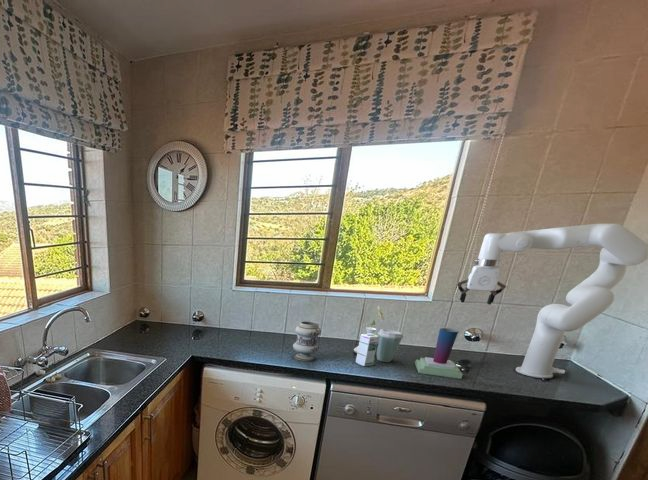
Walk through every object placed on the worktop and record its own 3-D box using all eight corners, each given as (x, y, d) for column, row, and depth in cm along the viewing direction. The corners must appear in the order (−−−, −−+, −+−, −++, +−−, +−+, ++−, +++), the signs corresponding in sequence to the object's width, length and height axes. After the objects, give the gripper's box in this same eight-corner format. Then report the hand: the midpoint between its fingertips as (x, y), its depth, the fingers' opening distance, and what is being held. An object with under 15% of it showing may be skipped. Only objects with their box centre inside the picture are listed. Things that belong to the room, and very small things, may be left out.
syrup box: (364, 366, 189) (370, 336, 184) (354, 362, 195) (360, 333, 189) (374, 365, 191) (380, 336, 185) (364, 361, 196) (370, 332, 191)
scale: (454, 368, 187) (457, 361, 186) (461, 378, 175) (463, 371, 174) (414, 363, 194) (416, 356, 192) (418, 372, 182) (420, 365, 181)
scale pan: (449, 363, 186) (450, 360, 185) (454, 370, 177) (455, 366, 177) (424, 360, 190) (425, 357, 189) (427, 366, 181) (428, 363, 181)
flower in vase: (372, 359, 198) (383, 309, 189) (349, 354, 207) (358, 305, 197) (383, 354, 206) (394, 306, 197) (360, 349, 214) (370, 302, 205)
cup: (451, 364, 179) (461, 332, 174) (434, 363, 180) (444, 331, 175) (444, 359, 185) (453, 328, 180) (428, 358, 187) (437, 327, 181)
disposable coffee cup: (382, 355, 205) (389, 327, 199) (402, 362, 195) (409, 332, 190) (367, 357, 201) (373, 328, 195) (386, 364, 192) (393, 334, 186)
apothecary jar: (294, 352, 208) (299, 318, 201) (318, 356, 202) (325, 321, 196) (288, 359, 198) (294, 323, 192) (314, 363, 193) (320, 327, 186)
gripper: (465, 263, 173) (453, 302, 179) (515, 265, 166) (502, 306, 172) (461, 261, 179) (450, 299, 186) (510, 263, 172) (497, 303, 179)
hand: (475, 303), depth 179 cm, fingers open, 9 cm apart
